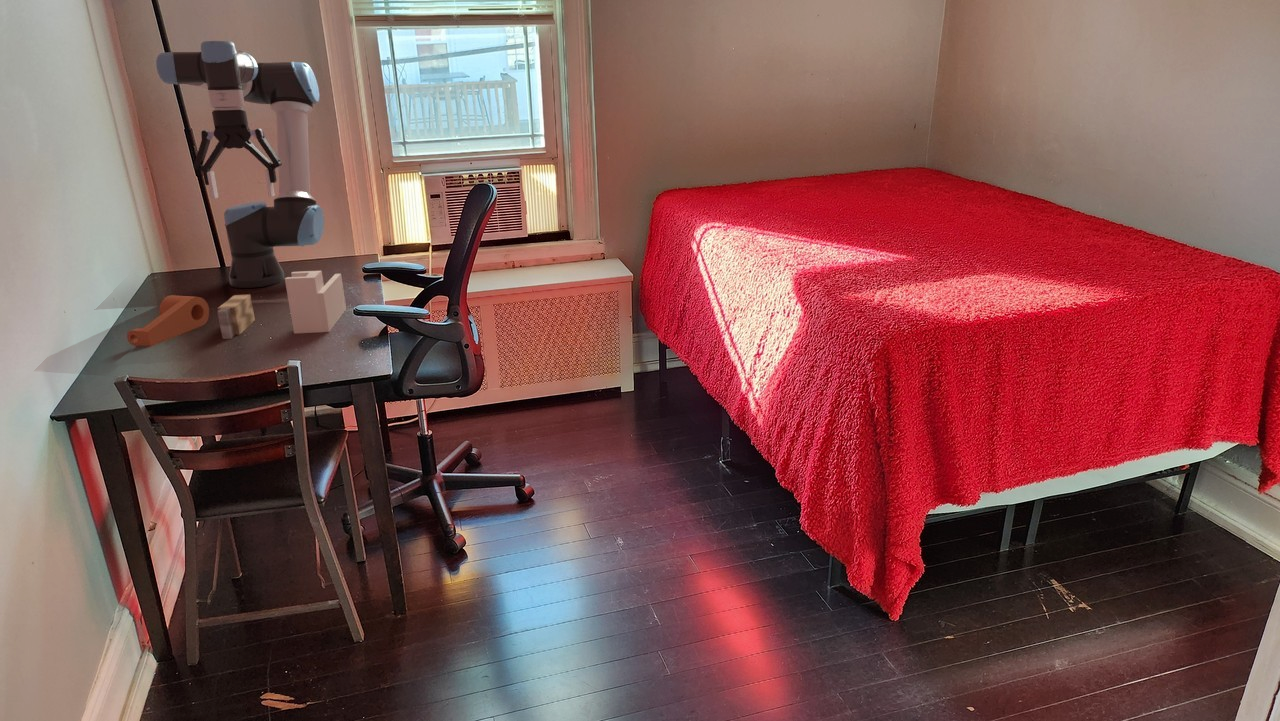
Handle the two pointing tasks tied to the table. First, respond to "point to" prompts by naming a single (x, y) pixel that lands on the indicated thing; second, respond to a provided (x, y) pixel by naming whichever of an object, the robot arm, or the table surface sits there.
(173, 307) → the crank
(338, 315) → the white notched block
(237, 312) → the tan wooden block
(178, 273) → the table surface
